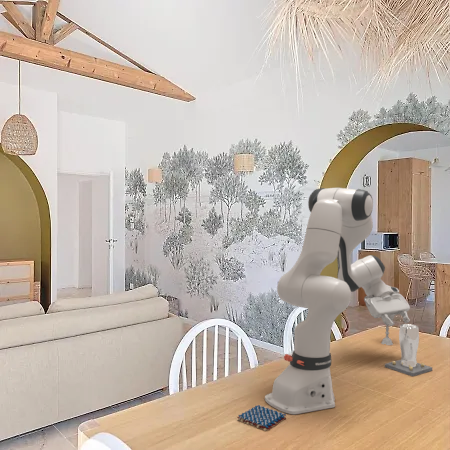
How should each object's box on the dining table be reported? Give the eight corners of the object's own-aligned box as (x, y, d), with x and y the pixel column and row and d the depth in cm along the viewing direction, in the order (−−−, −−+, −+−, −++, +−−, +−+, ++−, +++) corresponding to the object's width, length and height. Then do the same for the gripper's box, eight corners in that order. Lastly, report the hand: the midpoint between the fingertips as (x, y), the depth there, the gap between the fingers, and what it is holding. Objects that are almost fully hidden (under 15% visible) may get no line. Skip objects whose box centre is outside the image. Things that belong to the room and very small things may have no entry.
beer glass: (414, 362, 170) (414, 324, 170) (421, 368, 163) (422, 328, 163) (396, 362, 171) (396, 323, 170) (402, 368, 164) (403, 328, 164)
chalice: (377, 344, 199) (378, 304, 199) (379, 340, 205) (380, 302, 205) (394, 346, 196) (395, 306, 196) (396, 342, 202) (397, 303, 202)
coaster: (412, 376, 158) (412, 369, 158) (384, 367, 169) (384, 360, 169) (432, 370, 165) (432, 364, 165) (404, 361, 175) (404, 355, 175)
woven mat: (257, 409, 131) (257, 403, 131) (287, 420, 125) (287, 413, 124) (235, 422, 123) (235, 415, 123) (266, 434, 116) (266, 426, 116)
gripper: (366, 291, 170) (387, 322, 162) (400, 287, 181) (421, 316, 173) (357, 301, 174) (377, 331, 166) (390, 297, 185) (411, 325, 177)
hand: (400, 323), depth 170 cm, fingers open, 8 cm apart
